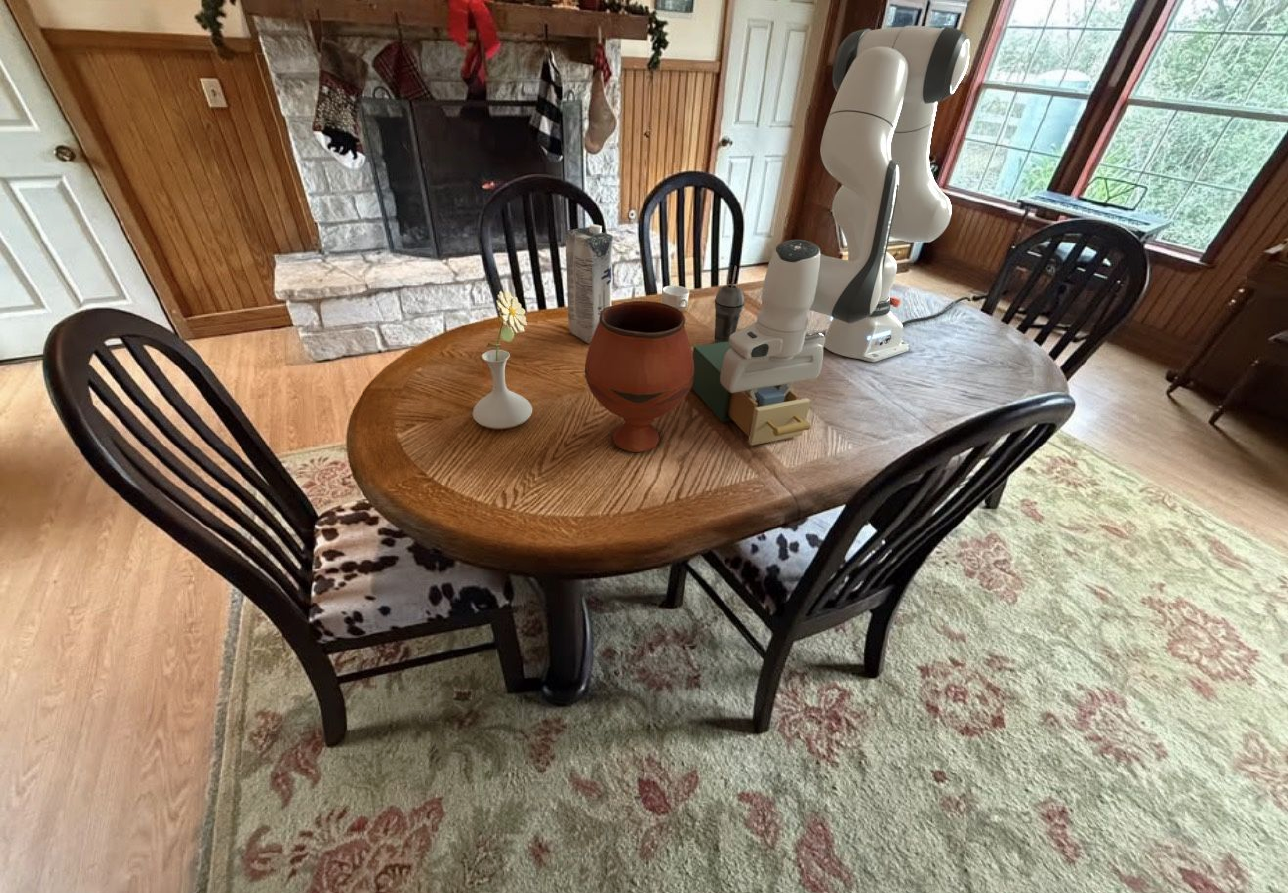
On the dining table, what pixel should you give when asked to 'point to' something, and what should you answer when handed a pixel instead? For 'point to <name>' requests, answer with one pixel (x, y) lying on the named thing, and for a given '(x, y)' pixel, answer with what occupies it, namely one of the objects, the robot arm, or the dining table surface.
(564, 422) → the dining table surface
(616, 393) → the goblet
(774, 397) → the block
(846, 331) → the robot arm
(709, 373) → the cabinet
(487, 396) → the flower in vase
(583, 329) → the juice carton
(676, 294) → the teacup
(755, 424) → the drawer
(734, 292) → the beverage cup
